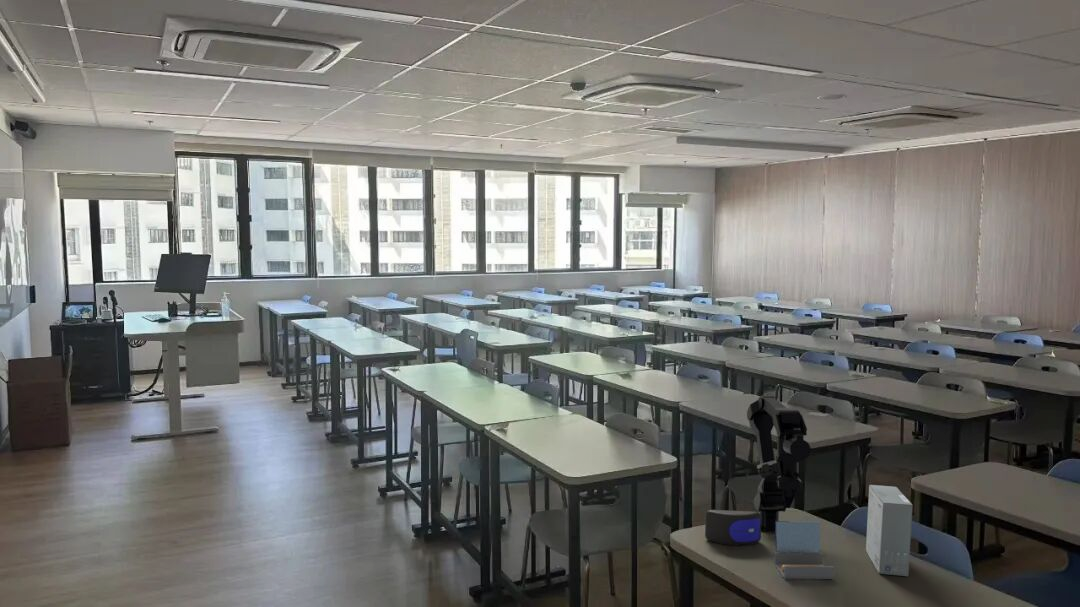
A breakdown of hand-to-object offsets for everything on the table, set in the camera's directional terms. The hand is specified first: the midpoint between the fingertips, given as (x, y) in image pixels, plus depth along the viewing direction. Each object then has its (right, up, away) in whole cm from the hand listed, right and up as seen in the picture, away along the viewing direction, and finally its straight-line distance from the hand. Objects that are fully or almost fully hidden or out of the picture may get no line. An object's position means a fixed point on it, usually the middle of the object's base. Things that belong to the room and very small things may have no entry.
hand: (787, 507), depth 205 cm
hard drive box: (+25, -14, -7) cm, 30 cm away
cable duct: (0, -14, -12) cm, 19 cm away
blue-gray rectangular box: (0, -6, -8) cm, 10 cm away
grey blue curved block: (-14, -12, +7) cm, 20 cm away
